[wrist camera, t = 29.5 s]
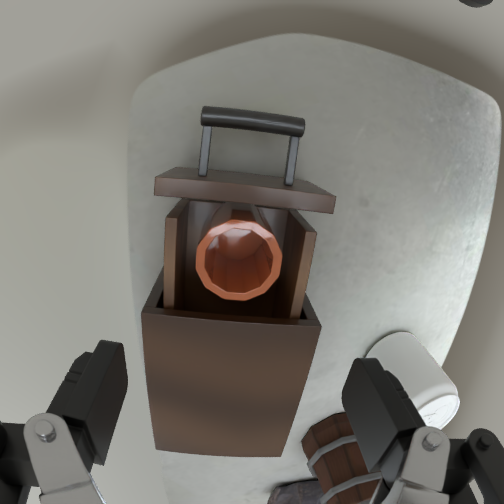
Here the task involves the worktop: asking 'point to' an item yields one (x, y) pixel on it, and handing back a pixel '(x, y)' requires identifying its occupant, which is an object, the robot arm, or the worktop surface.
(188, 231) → the drawer
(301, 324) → the cabinet
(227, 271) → the cup
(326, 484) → the mug
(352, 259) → the worktop surface
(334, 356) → the worktop surface
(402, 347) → the beverage can
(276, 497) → the perforated stone tool
